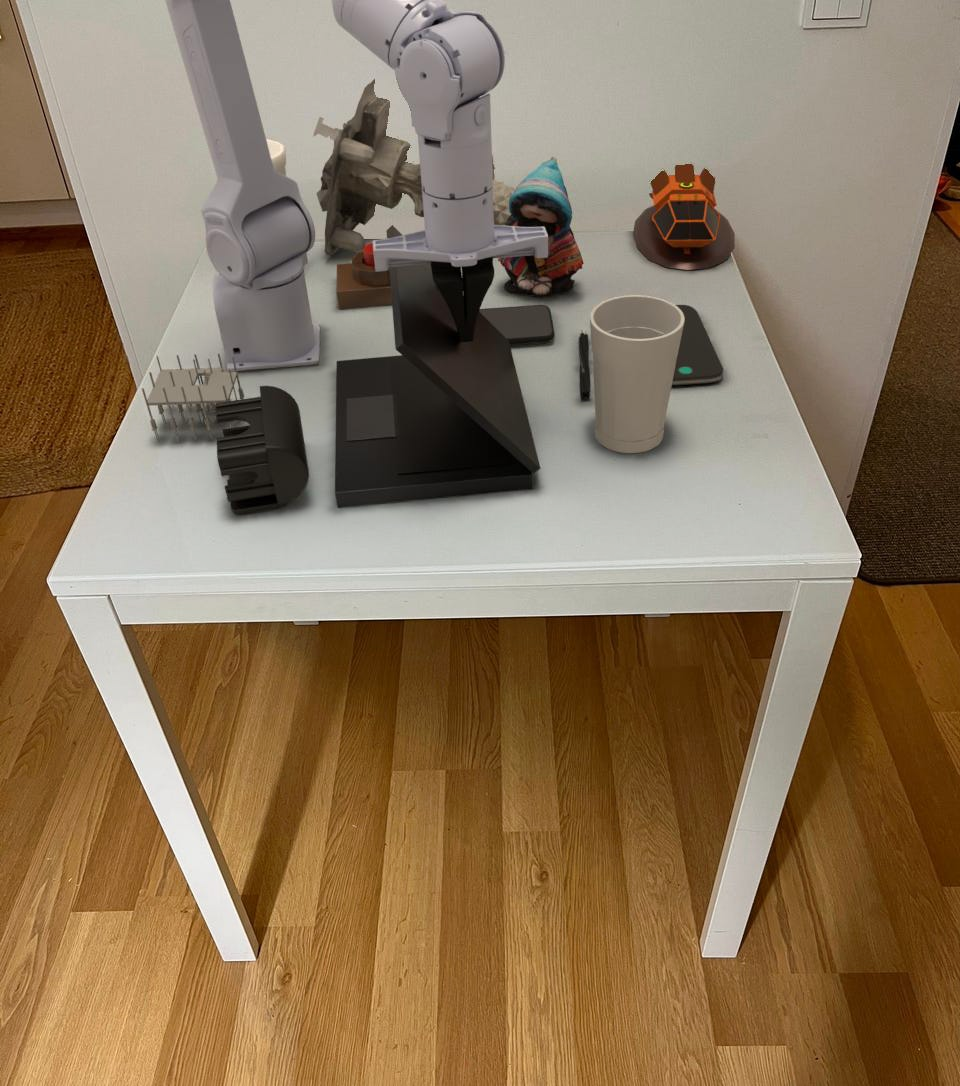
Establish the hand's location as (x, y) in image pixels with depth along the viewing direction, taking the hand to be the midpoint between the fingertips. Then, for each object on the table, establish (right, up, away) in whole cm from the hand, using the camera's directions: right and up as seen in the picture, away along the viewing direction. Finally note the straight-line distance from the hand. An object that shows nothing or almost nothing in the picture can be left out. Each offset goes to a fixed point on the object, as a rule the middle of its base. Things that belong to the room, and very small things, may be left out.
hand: (465, 336), depth 89 cm
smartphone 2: (+21, +2, +15) cm, 26 cm away
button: (-10, +14, +25) cm, 30 cm away
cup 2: (+15, -8, +4) cm, 18 cm away
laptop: (-4, -7, +6) cm, 10 cm away
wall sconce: (-7, +14, +35) cm, 38 cm away
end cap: (-17, -13, +1) cm, 22 cm away
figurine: (+8, +10, +26) cm, 29 cm away
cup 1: (-24, +14, +32) cm, 43 cm away
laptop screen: (-1, -1, +1) cm, 1 cm away
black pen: (+12, -1, +13) cm, 18 cm away
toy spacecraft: (+27, +20, +36) cm, 49 cm away
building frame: (-25, -7, +8) cm, 28 cm away
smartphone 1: (+2, +4, +19) cm, 20 cm away
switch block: (-10, +11, +27) cm, 31 cm away
